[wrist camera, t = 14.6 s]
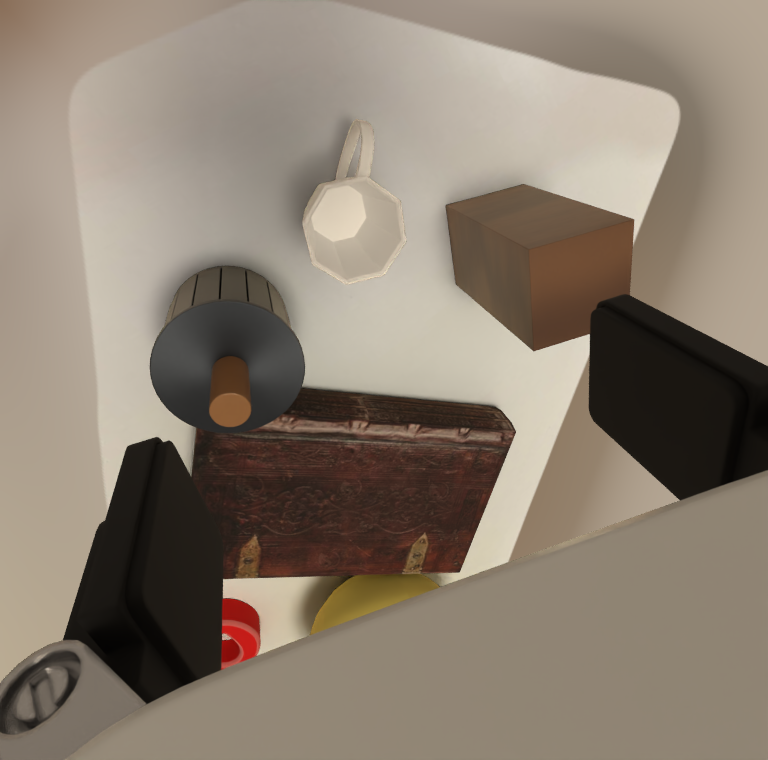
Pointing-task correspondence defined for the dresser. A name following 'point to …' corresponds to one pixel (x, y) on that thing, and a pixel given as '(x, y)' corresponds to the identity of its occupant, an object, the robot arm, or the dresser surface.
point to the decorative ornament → (239, 632)
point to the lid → (227, 366)
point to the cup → (354, 218)
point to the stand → (539, 260)
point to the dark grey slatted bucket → (227, 290)
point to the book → (352, 485)
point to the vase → (368, 597)
